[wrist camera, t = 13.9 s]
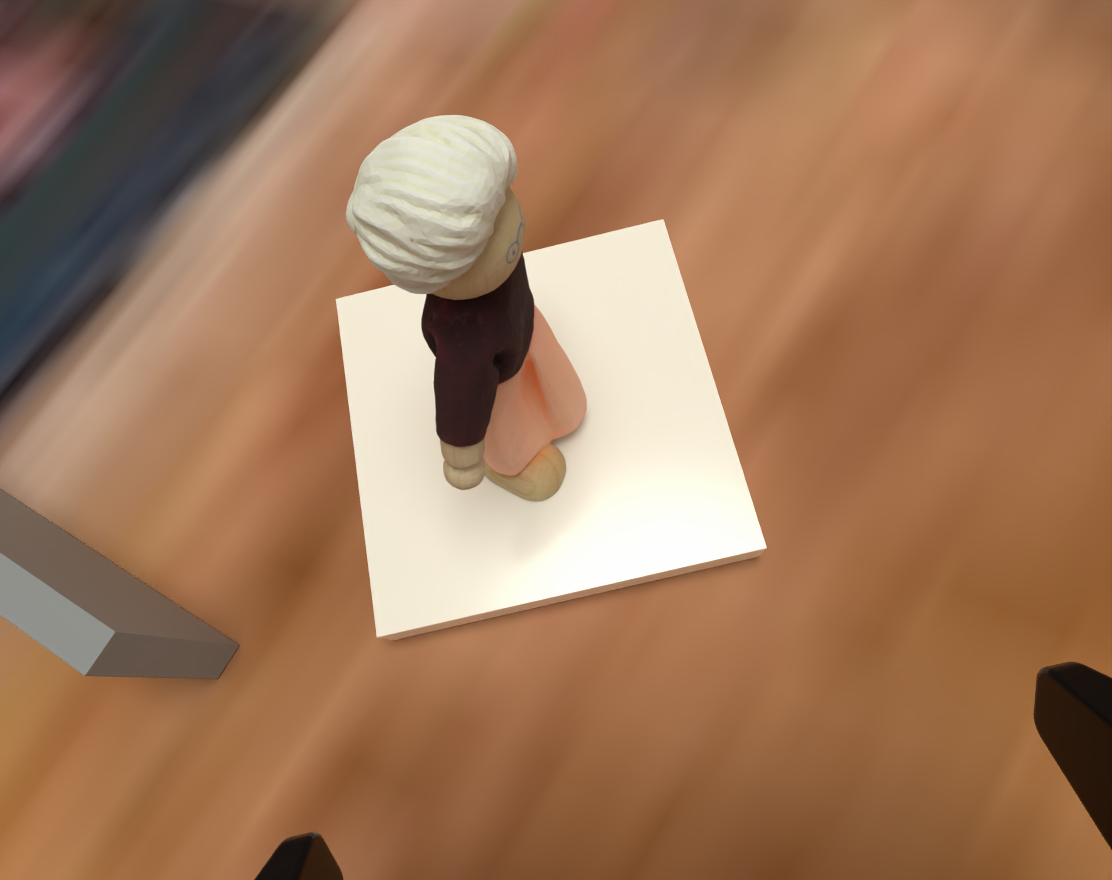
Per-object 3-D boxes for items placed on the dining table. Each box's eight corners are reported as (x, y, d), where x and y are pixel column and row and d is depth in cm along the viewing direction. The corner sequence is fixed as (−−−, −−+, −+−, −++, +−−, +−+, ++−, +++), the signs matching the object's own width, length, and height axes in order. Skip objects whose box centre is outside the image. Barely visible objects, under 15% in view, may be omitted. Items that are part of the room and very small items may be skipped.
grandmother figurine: (599, 526, 22) (556, 340, 10) (477, 538, 23) (296, 369, 11) (578, 306, 25) (525, -48, 13) (468, 319, 25) (316, -16, 13)
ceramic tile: (758, 556, 23) (766, 547, 22) (392, 640, 23) (377, 637, 22) (661, 243, 27) (663, 219, 26) (351, 319, 27) (336, 299, 26)
